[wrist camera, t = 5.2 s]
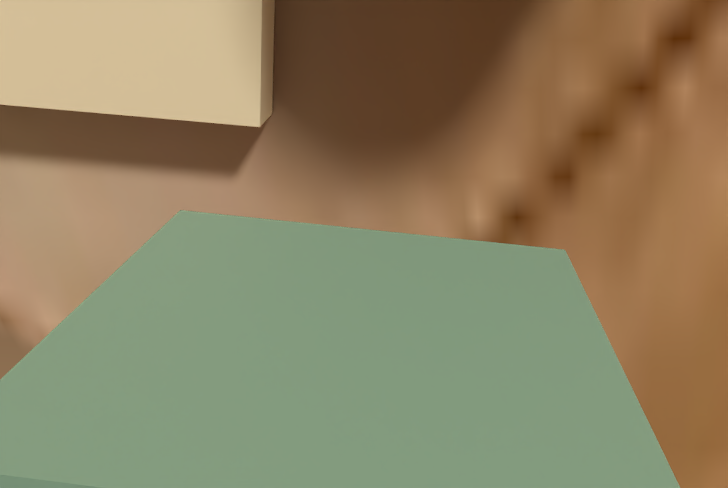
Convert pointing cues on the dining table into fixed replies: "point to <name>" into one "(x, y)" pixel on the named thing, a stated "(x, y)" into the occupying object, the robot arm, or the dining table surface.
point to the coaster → (140, 58)
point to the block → (327, 369)
